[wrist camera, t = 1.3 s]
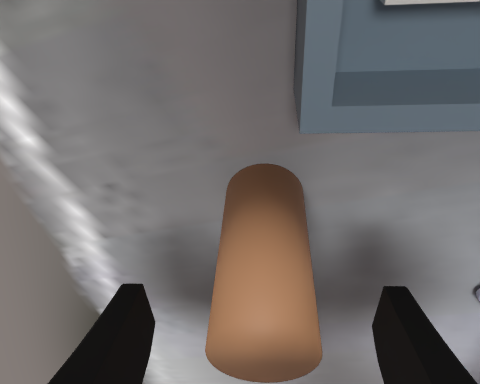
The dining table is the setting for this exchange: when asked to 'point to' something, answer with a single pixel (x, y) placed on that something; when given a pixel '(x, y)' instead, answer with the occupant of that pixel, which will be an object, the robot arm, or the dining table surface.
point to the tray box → (387, 66)
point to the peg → (264, 281)
